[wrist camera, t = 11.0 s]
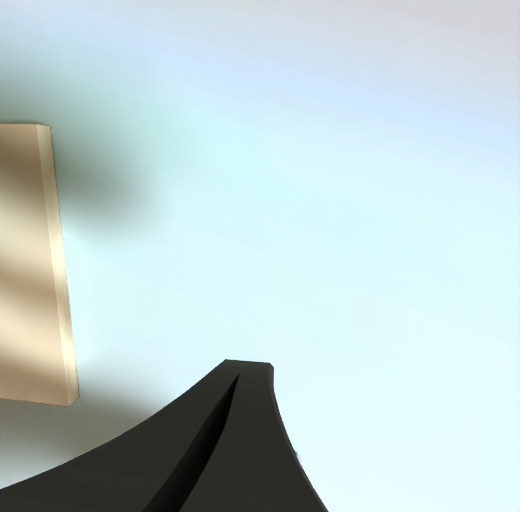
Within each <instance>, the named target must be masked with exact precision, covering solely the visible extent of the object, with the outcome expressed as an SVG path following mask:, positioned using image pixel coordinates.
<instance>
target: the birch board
mask: <svg viewBox="0 0 520 512" xmlns="http://www.w3.org/2000/svg"><path fill="white" fill-rule="evenodd" d="M78 397H79V390H78V381H77V372H76V362H75V353H74V344H73V334H72V325H71V316H70V307H69V297H68V288H67V279H66V269H65V260H64V251H63V242H62V232H61V223H60V214H59V204H58V195H57V186H56V177H55V167H54V158H53V149H52V139H51V130H50V126H45V125H38V124H0V398H3V399H12V400H20V401H28V402H36V403H45V404H53V405H61V406H70V405H71V404H72V403H73V402H74V401H75V400H76V399H77V398H78Z"/></svg>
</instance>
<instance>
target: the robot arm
mask: <svg viewBox="0 0 520 512" xmlns="http://www.w3.org/2000/svg"><path fill="white" fill-rule="evenodd" d="M0 512H328V510H327V509H326V507H325V505H324V504H323V502H322V501H321V499H320V497H319V496H318V494H317V493H316V491H315V490H314V488H313V486H312V485H311V483H310V481H309V479H308V477H307V475H306V473H305V472H304V470H303V468H302V459H301V458H300V457H299V456H298V455H296V454H295V451H294V449H293V447H292V445H291V442H290V440H289V437H288V435H287V432H286V430H285V427H284V424H283V422H282V418H281V415H280V412H279V409H278V405H277V401H276V398H275V393H274V367H273V366H272V365H271V364H270V363H264V362H252V361H239V360H227V359H225V360H224V361H223V362H222V363H220V364H219V365H218V366H217V367H215V368H214V369H213V370H212V371H211V372H209V373H208V374H207V375H206V376H205V377H203V378H202V379H201V380H200V381H199V382H197V383H196V384H195V385H194V386H192V387H191V388H190V389H189V390H187V391H186V392H185V393H183V394H182V395H181V396H179V397H178V398H177V399H175V400H174V401H172V402H171V403H170V404H168V405H167V406H165V407H164V408H163V409H161V410H160V411H158V412H157V413H156V414H154V415H153V416H151V417H150V418H148V419H147V420H145V421H143V422H142V423H140V424H139V425H137V426H135V427H134V428H132V429H130V430H129V431H127V432H125V433H123V434H122V435H120V436H118V437H116V438H115V439H113V440H111V441H109V442H107V443H105V444H103V445H101V446H99V447H97V448H95V449H93V450H91V451H89V452H87V453H85V454H83V455H81V456H79V457H77V458H74V459H72V460H70V461H68V462H66V463H64V464H62V465H60V466H57V467H55V468H53V469H50V470H48V471H46V472H43V473H41V474H38V475H36V476H34V477H31V478H28V479H26V480H23V481H21V482H18V483H16V484H13V485H10V486H8V487H5V488H2V489H0Z"/></svg>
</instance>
